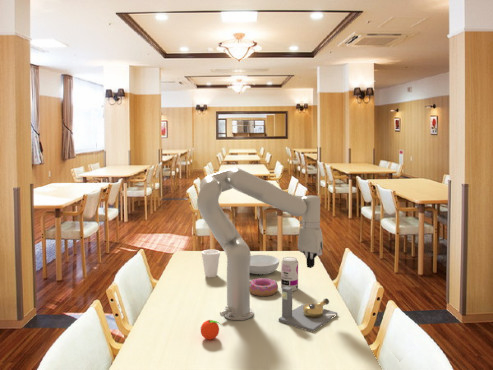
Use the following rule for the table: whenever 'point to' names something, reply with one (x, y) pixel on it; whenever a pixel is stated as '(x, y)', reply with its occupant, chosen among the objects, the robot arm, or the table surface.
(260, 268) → the serving bowl
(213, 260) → the foam cup
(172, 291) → the table surface
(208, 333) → the clementine
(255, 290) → the donut
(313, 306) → the gold pan with handle
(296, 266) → the white soda can
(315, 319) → the stand
